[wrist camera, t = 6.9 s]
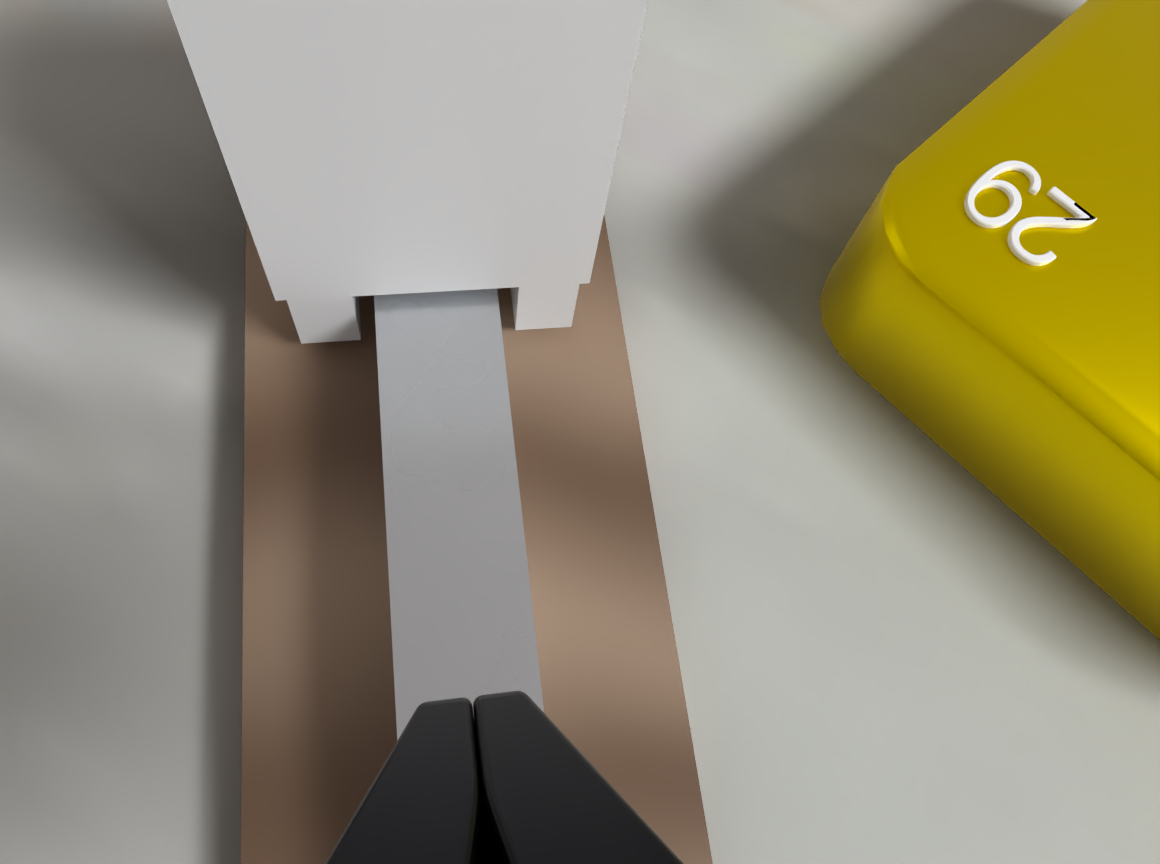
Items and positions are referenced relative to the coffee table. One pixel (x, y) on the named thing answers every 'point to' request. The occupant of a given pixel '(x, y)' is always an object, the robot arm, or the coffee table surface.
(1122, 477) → the element tile
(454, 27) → the block
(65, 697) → the coffee table surface
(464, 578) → the rail
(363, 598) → the mounting board
